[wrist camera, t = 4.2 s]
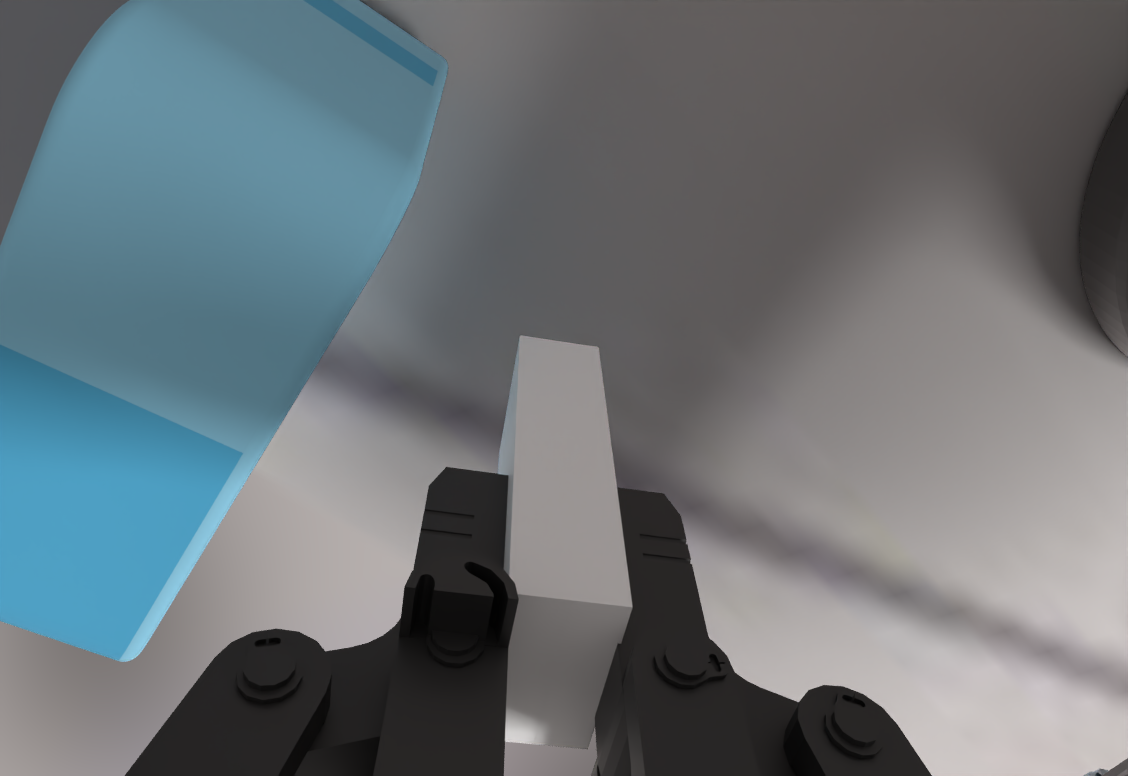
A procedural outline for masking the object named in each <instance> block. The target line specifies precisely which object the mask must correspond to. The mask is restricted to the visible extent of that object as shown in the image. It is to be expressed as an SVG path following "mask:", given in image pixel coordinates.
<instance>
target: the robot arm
mask: <svg viewBox="0 0 1128 776" xmlns="http://www.w3.org/2000/svg"><path fill="white" fill-rule="evenodd" d="M1080 261H1081V271H1082V277H1083V282H1084V287H1085V290H1086V294H1087V297H1088V300H1089V303H1090V305H1091V308H1092V310H1093V313H1094V315H1095V316H1096V318H1097V320H1098V322H1099V324H1100V326H1101V327H1102V329H1103V330H1104V332H1105V333H1106V335H1107V336H1108V337H1109V339H1110V340H1111V341H1112V342H1113V343H1114V344H1115V346H1116V347H1117V348H1118V349H1119V350H1120V351H1121V352H1122V353H1124V354H1125V355H1126V356H1127V357H1128V93H1127V95H1126V97H1125V98H1124V100H1123V102H1122V104H1121V106H1120V108H1119V109H1118V111H1117V113H1116V115H1115V117H1114V119H1113V121H1112V123H1111V125H1110V127H1109V129H1108V131H1107V134H1106V136H1105V138H1104V140H1103V143H1102V145H1101V148H1100V150H1099V153H1098V155H1097V158H1096V160H1095V164H1094V167H1093V170H1092V173H1091V176H1090V179H1089V183H1088V187H1087V191H1086V195H1085V199H1084V205H1083V211H1082V217H1081V228H1080ZM690 560H691V558H690V554H689V550H688V545H687V544H686V536H685V532H684V528H683V523H682V519H681V516H680V514H679V513H678V512H677V510H676V509H675V508H674V506H673V505H672V504H671V502H670V501H669V500H668V498H667V497H666V496H665V495H664V494H663V493H655V492H648V491H640V490H632V489H625V488H617V484H616V476H615V468H614V461H613V453H612V445H611V438H610V430H609V422H608V415H607V407H606V399H605V392H604V384H603V376H602V369H601V361H600V353H599V347H595V346H588V345H582V344H575V343H569V342H562V341H555V340H549V339H542V338H536V337H529V336H522V335H520V337H519V343H518V349H517V354H516V360H515V366H514V371H513V377H512V383H511V388H510V394H509V400H508V405H507V411H506V417H505V422H504V428H503V434H502V439H501V445H500V451H499V461H498V474H495V473H487V472H480V471H472V470H464V469H457V468H449V467H446V468H445V469H444V470H443V471H442V472H441V473H440V474H439V475H438V477H437V478H436V479H435V480H434V481H433V482H432V483H431V484H430V485H429V489H428V494H427V500H426V505H425V511H424V516H423V521H422V527H421V533H420V537H419V543H418V548H417V554H416V559H415V564H414V570H413V571H412V573H411V575H410V577H409V579H408V581H407V583H406V585H405V588H404V597H403V605H402V614H401V619H400V620H399V622H398V623H397V624H396V625H395V626H394V627H393V628H392V629H391V630H390V631H388V632H387V633H386V634H384V635H383V636H381V637H379V638H377V639H375V640H373V641H371V642H369V643H366V644H362V645H358V646H354V647H350V648H344V649H338V650H332V651H326V652H325V651H324V649H323V648H322V647H321V646H320V644H319V643H318V642H317V641H315V640H314V639H312V638H310V637H308V636H306V635H304V634H302V633H300V632H296V631H289V630H282V629H272V630H265V631H259V632H253V633H251V634H248V635H246V636H244V637H242V638H240V639H238V640H235V641H233V642H231V643H230V644H229V645H228V646H227V647H226V648H225V649H224V650H222V651H221V653H219V654H218V655H217V656H216V657H215V658H214V659H213V661H212V662H211V663H210V664H209V666H208V667H207V668H206V670H205V671H204V672H203V674H202V675H201V676H200V678H199V679H198V680H197V682H196V683H195V684H194V685H193V687H192V688H191V689H190V691H189V692H188V693H187V695H186V696H185V697H184V699H183V700H182V701H181V703H180V704H179V705H178V706H177V708H176V709H175V711H174V712H173V713H172V714H171V716H170V717H169V718H168V720H167V721H166V722H165V724H164V725H163V726H162V727H161V729H160V730H159V731H158V733H157V734H156V735H155V737H154V738H153V739H152V741H151V742H150V743H149V745H148V746H147V747H146V749H145V750H144V751H143V753H142V754H141V755H140V756H139V758H138V759H137V760H136V762H135V763H134V764H133V766H132V767H131V768H130V770H129V771H128V772H127V773H126V775H125V776H504V749H505V742H517V743H527V744H538V745H548V746H558V747H570V748H580V749H588V747H589V744H590V741H591V737H592V734H593V731H594V728H595V729H596V743H597V759H596V762H595V765H594V768H593V771H592V774H591V776H932V775H931V774H930V772H929V771H928V769H927V768H926V766H925V765H924V763H923V762H922V761H921V759H920V758H919V756H918V755H917V753H916V752H915V750H914V749H913V747H912V746H911V744H910V743H909V741H908V740H907V738H906V737H905V735H904V734H903V732H902V731H901V729H900V728H899V726H898V725H897V724H896V723H895V721H894V720H893V719H892V718H891V717H890V716H889V715H888V713H887V712H886V711H885V710H884V709H883V708H882V707H881V706H879V705H878V704H876V703H875V702H874V701H872V700H871V699H869V698H868V697H866V696H865V695H864V694H861V693H859V692H856V691H853V690H851V689H848V688H845V687H843V686H829V685H823V686H820V687H817V688H814V689H811V690H809V691H808V692H807V693H806V694H805V695H804V697H803V698H802V699H801V700H800V702H796V701H794V700H791V699H788V698H786V697H783V696H781V695H778V694H776V693H773V692H770V691H768V690H765V689H763V688H760V687H758V686H756V685H754V684H752V683H750V682H748V681H746V680H744V679H743V678H742V677H740V676H739V675H737V674H736V673H735V672H734V670H733V668H732V666H731V664H730V661H729V659H728V657H727V655H726V654H725V653H724V652H723V651H722V650H721V649H720V648H719V647H718V646H717V645H716V644H715V643H714V642H713V641H712V640H710V639H709V637H708V633H707V629H706V625H705V620H704V616H703V611H702V607H701V603H700V598H699V594H698V589H697V585H696V581H695V576H694V572H693V567H692V564H690ZM1084 776H1128V759H1126V760H1125V761H1123V762H1122V763H1120V764H1119V765H1117V766H1116V767H1114V768H1113V769H1111V770H1110V771H1108V770H1104V769H1098V770H1097V771H1095V772H1089V773H1087V774H1086V775H1084Z"/></svg>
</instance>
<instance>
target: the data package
mask: <svg viewBox="0 0 1128 776" xmlns="http://www.w3.org/2000/svg"><path fill="white" fill-rule="evenodd" d="M447 73H448V64H447V61H446V60H445V59H444V58H443V57H442V56H440V55H439V54H438V53H436V52H435V51H433V50H432V49H430V48H429V47H427V46H426V45H424V44H423V43H421V42H420V41H418V40H417V39H416V38H414V37H413V36H411V35H410V34H408V33H407V32H405V31H404V30H402V29H401V28H399V27H398V26H396V25H395V24H393V23H392V22H391V21H389V20H388V19H386V18H385V17H383V16H382V15H380V14H379V13H377V12H376V11H374V10H373V9H371V8H370V7H369V6H367V5H366V4H364V3H363V2H361V1H360V0H129V1H128V2H126V3H125V4H123V5H122V6H121V7H120V8H118V9H117V10H116V11H115V12H114V13H113V14H112V15H111V16H110V17H109V18H108V19H107V20H106V21H105V22H104V23H103V25H102V26H101V27H100V28H99V29H98V30H97V32H96V33H95V34H94V36H93V37H92V38H91V40H90V41H89V42H88V44H87V45H86V47H85V48H84V50H83V51H82V53H81V54H80V56H79V57H78V59H77V61H76V62H75V64H74V65H73V67H72V69H71V71H70V73H69V74H68V76H67V78H66V80H65V82H64V84H63V86H62V88H61V90H60V92H59V94H58V96H57V98H56V100H55V102H54V105H53V107H52V110H51V112H50V115H49V117H48V120H47V122H46V125H45V128H44V130H43V133H42V136H41V138H40V141H39V144H38V146H37V149H36V152H35V154H34V157H33V160H32V162H31V165H30V168H29V170H28V173H27V176H26V178H25V181H24V184H23V187H22V189H21V192H20V195H19V197H18V200H17V203H16V205H15V208H14V211H13V213H12V216H11V219H10V221H9V224H8V227H7V229H6V232H5V235H4V237H3V240H2V243H1V245H0V621H2V622H5V623H8V624H11V625H14V626H16V627H20V628H22V629H26V630H28V631H31V632H34V633H37V634H40V635H43V636H46V637H49V638H52V639H55V640H58V641H61V642H64V643H67V644H70V645H73V646H76V647H79V648H82V649H85V650H87V651H91V652H93V653H96V654H99V655H103V656H105V657H108V658H111V659H114V660H117V661H122V662H125V661H129V660H132V659H134V658H135V657H137V656H138V655H139V654H140V653H141V651H142V650H143V649H144V647H145V646H146V644H147V643H148V641H149V639H150V638H151V636H152V635H153V633H154V631H155V630H156V628H157V626H158V625H159V623H160V621H161V620H162V618H163V616H164V614H165V613H166V612H167V610H168V608H169V607H170V605H171V603H172V602H173V600H174V598H175V596H176V595H177V593H178V592H179V590H180V589H181V587H182V585H183V584H184V582H185V580H186V579H187V577H188V575H189V574H190V572H191V571H192V569H193V567H194V566H195V564H196V562H197V561H198V559H199V557H200V556H201V554H202V552H203V551H204V549H205V548H206V546H207V544H208V542H209V541H210V539H211V538H212V536H213V534H214V533H215V531H216V529H217V528H218V526H219V525H220V523H221V521H222V520H223V518H224V516H225V515H226V513H227V512H228V510H229V508H230V507H231V505H232V503H233V502H234V500H235V498H236V497H237V495H238V493H239V492H240V490H241V488H242V487H243V485H244V484H245V482H246V480H247V479H248V477H249V475H250V474H251V472H252V470H253V469H254V467H255V466H256V464H257V462H258V461H259V459H260V457H261V456H262V454H263V452H264V451H265V449H266V448H267V446H268V444H269V443H270V441H271V439H272V438H273V436H274V434H275V433H276V431H277V429H278V428H279V426H280V425H281V423H282V421H283V420H284V418H285V416H286V415H287V413H288V411H289V410H290V408H291V407H292V405H293V403H294V402H295V400H296V398H297V397H298V395H299V393H300V392H301V390H302V388H303V387H304V385H305V384H306V382H307V380H308V379H309V377H310V375H311V374H312V372H313V370H314V369H315V367H316V365H317V364H318V362H319V361H320V359H321V357H322V356H323V354H324V352H325V351H326V349H327V347H328V346H329V344H330V343H331V341H332V339H333V338H334V336H335V334H336V333H337V331H338V329H339V328H340V326H341V324H342V323H343V321H344V320H345V318H346V316H347V315H348V313H349V311H350V310H351V308H352V306H353V305H354V303H355V302H356V300H357V298H358V297H359V295H360V293H361V292H362V290H363V288H364V287H365V285H366V283H367V282H368V280H369V278H370V277H371V275H372V273H373V271H374V270H375V268H376V266H377V265H378V263H379V261H380V259H381V257H382V256H383V254H384V252H385V250H386V248H387V247H388V245H389V243H390V241H391V239H392V237H393V235H394V233H395V232H396V230H397V228H398V226H399V224H400V222H401V220H402V218H403V216H404V214H405V212H406V210H407V208H408V206H409V203H410V201H411V199H412V197H413V195H414V192H415V190H416V187H417V185H418V182H419V179H420V175H421V171H422V167H423V164H424V160H425V156H426V152H427V149H428V145H429V141H430V137H431V133H432V130H433V126H434V122H435V118H436V114H437V111H438V107H439V103H440V99H441V96H442V92H443V88H444V84H445V80H446V77H447Z"/></svg>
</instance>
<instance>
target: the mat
mask: <svg viewBox="0 0 1128 776" xmlns="http://www.w3.org/2000/svg"><path fill="white" fill-rule="evenodd" d="M128 1H129V0H0V245H1V243H2V240H3V237H4V235H5V232H6V229H7V227H8V224H9V221H10V219H11V216H12V213H13V211H14V208H15V205H16V203H17V200H18V197H19V195H20V192H21V189H22V187H23V184H24V181H25V178H26V176H27V173H28V170H29V168H30V165H31V162H32V160H33V157H34V154H35V152H36V149H37V146H38V144H39V141H40V138H41V136H42V133H43V130H44V128H45V125H46V122H47V120H48V117H49V115H50V112H51V110H52V107H53V105H54V102H55V100H56V98H57V96H58V94H59V92H60V90H61V88H62V86H63V84H64V82H65V80H66V78H67V76H68V74H69V73H70V71H71V69H72V67H73V65H74V64H75V62H76V61H77V59H78V57H79V56H80V54H81V53H82V51H83V50H84V48H85V47H86V45H87V44H88V42H89V41H90V40H91V38H92V37H93V36H94V34H95V33H96V32H97V30H98V29H99V28H100V27H101V26H102V25H103V23H104V22H105V21H106V20H107V19H108V18H109V17H110V16H111V15H112V14H113V13H114V12H115V11H116V10H117V9H118V8H120V7H121V6H122V5H123V4H125V3H126V2H128Z"/></svg>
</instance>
